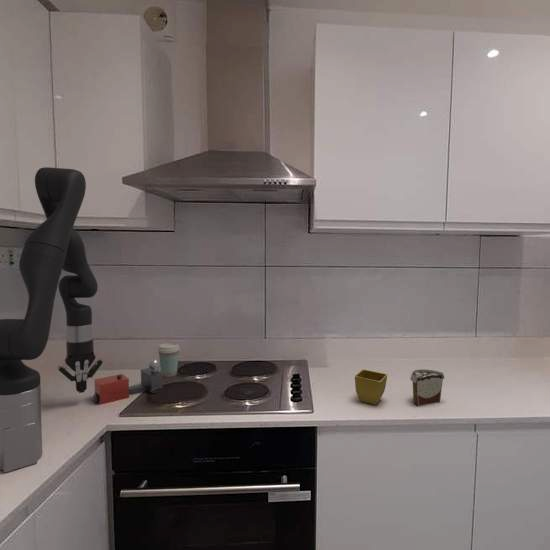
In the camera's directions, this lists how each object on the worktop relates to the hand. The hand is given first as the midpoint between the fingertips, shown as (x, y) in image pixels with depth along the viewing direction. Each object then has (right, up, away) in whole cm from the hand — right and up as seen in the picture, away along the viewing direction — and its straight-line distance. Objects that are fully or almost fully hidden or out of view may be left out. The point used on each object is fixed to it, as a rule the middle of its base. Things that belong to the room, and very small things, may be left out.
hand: (81, 391), depth 114 cm
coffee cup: (+19, -3, +29) cm, 35 cm away
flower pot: (+94, -5, +6) cm, 94 cm away
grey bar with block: (+11, -4, +10) cm, 15 cm away
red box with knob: (+7, -4, +6) cm, 10 cm away
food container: (+112, -6, +7) cm, 112 cm away
